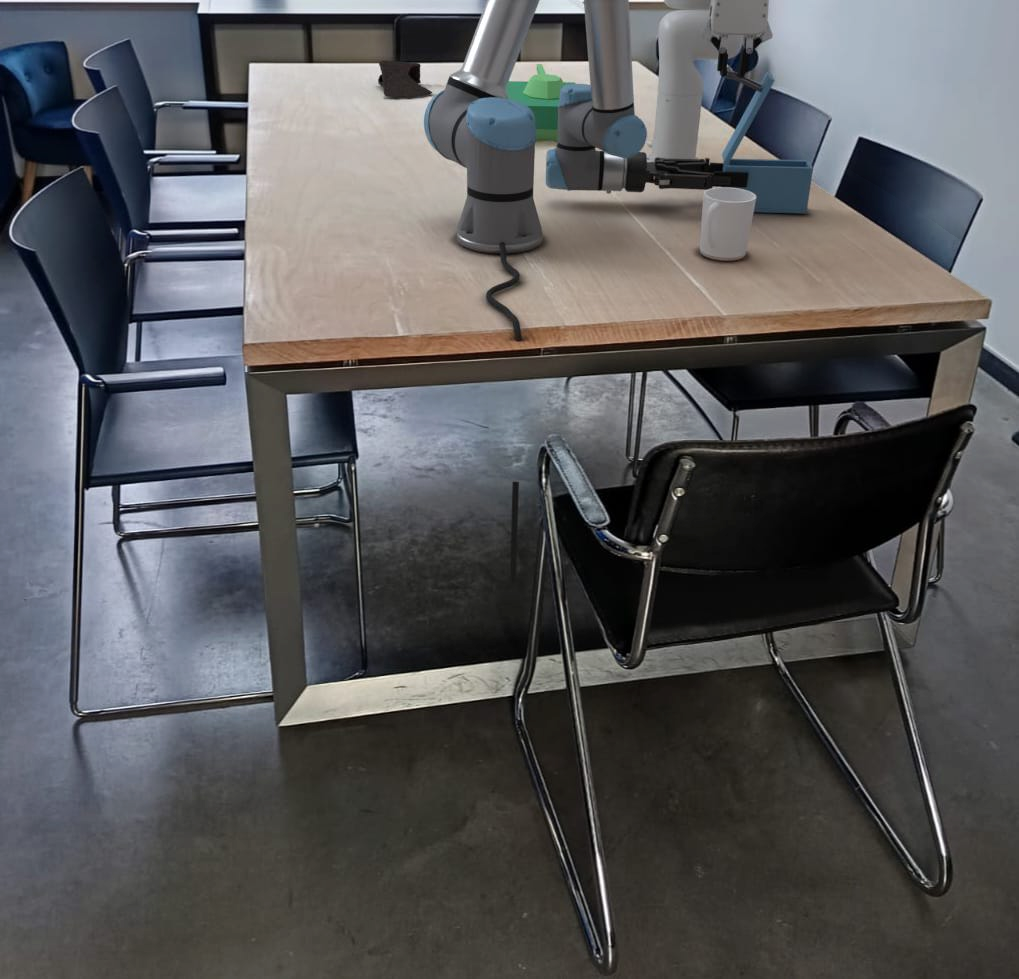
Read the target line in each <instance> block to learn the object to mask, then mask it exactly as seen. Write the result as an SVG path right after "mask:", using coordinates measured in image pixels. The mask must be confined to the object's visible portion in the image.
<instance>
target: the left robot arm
mask: <svg viewBox="0 0 1019 979" xmlns="http://www.w3.org/2000/svg"><path fill="white" fill-rule="evenodd" d="M540 1H541V0H486V2H485V4H484V7H483V9H482V13H481V15H480V18H479V21H478V22H477V26H476V28H475V31H474V34H473V37H472V39H471V42H470V45H469V47H468V50H467V53H466V56H465V58H464V61H463V63H462V66H461V68H460V69H459V70H457V71H455V72H453V73H451V74H449V77H448V79H447V82H446V85H445V88H444V89H443V90H441V91H439V92H438V93H436V94H435V95H434V96H433V97H432V98H431V99H430V100H429V102H428V104H427V106H426V108H425V111H424V116H423V129H424V134H425V136H426V139H427V141H428V142H429V144H430V145H431V147H432V148H433V149H434V150H435V151H436V152H437V153H438V154H440V155H441V156H442V157H443V158H445V159H446V160H449V161H452V162H454V163H456V164H457V165H459V166H462V167H463V168H465V169H466V192H467V193H466V198H465V202H464V205H463V209H462V211H461V214H460V218H459V220H458V224H457V228H456V241H457V243H458V244H459V245H461V246H462V247H464V248H466V249H468V250H470V251H475V252H479V253H486V254H497V255H500V262H501V265H502V267H503V269H504V270H506V271H507V272H508V273H510V274H511V275H512V276H513V277H512V278H510V279H509V280H506V281H505V282H501V283H499V284H496V285H494V286H492V287H490V288H489V289H488V290H487V291H486V293H485V298H486V301H487V303H489V305H491V306H493V307H494V308H495V309H497V310H499V311H500V312H501V313H503V314H504V315H505V316H506V318H507V319H508V320H510V322H511V323H512V328H513V333H514V341H515V342H517V343H520V342H522V341H523V338H522V337H523V336H522V330H521V324H520V321H519V319H518V317H517V315H515V314H514V313H513V312H512V311H511V310H510V308H508V307H507V306H506V305H504V304H503V303H501V302H500V301H498V300H496V299H495V298H494V297H493V295H494V294H496V293H498V292H501V291H503V290H506V289H508V288H511V287H513V286H515V285H516V284H517V283H518V282H519V281H520V280H521V279H520V277H521V274H520V272H519V271H518V270H517V269H516V268H515V267H513V266H512V265H511V264H510V263H509V262H508V260H507V255H508V254H517V253H524V252H527V251H530V250H533V249H536V248H538V247H539V246H540V245H541V244H542V243H543V229H542V224H541V221H540V220H541V219H540V218H539V214H538V213H539V212H538V210H537V206H536V204H535V199H534V184H535V181H534V180H535V158H536V156H535V154H536V141H535V139H536V127H535V116H534V114H533V112H532V110H531V109H530V108H529V107H528V106H526V105H525V104H523V103H521V102H518V101H515V100H510V99H509V97H508V94H507V91H506V87H507V84H508V82H509V81H510V80H511V79H510V78H511V77H512V73H513V70H514V68H515V66H516V63H517V60H518V58H519V55H520V53H521V50H522V47H523V44H524V43H525V39H526V37H527V34H528V32H529V29H530V26H531V24H532V21H533V19H534V16H535V14H536V11H537V8H538V5H539V4H540ZM583 7H584V8H583V9H584V22H585V33H586V45H587V46H586V47H587V48H586V49H587V58H588V59H587V60H588V72H589V83H590V84H588V83H576V84H569V85H566V86H564V87H562V88H561V90H560V97H559V106H558V141H556V145H555V147H556V148H550V149H548V150H547V151H546V154H545V155H546V156H545V157H546V159H545V180H544V181H545V185H546V186H547V188H548V189H551V190H563V191H568V192H570V191H596V192H597V191H598V192H606V194H608V195H610V194H612V192H622V191H623V189H624V191H625V192H626V193H643V192H644V191H645V188H646V184H647V183H648V184H654V186H658V189H660V190H669V189H680V190H701V191H702V190H703V191H706V190H707V189H711V188H718V187H744V188H747V181H748V174H749V173H748V172H723V162H710V157H705V158H699V159H666V158H659V157H657V158H655V162H647V156H648V155H647V153H646V152H644V151H642V150H643V148H644V146H645V144H646V141H647V137H648V130H647V126H646V124H645V123H644V121H643V120H642V119H641V118H640V117H639V116H638V115H636V112H635V97H634V96H635V94H634V77H633V76H634V75H633V59H632V57H633V56H632V38H631V36H632V35H631V19H630V18H631V17H630V1H629V0H583ZM596 149H599V150H596ZM511 485H512V486H511V487H512V488H511V520H510V524H511V525H510V526H511V528H510V533H511V534H510V565H509V566H510V567H509V581H510V583H516V582H517V562H518V561H517V560H518V559H517V558H518V557H517V556H518V525H519V524H518V523H519V522H518V521H519V496H520V494H519V492H520V481H512V484H511Z"/></svg>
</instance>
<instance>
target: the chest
mask: <svg viewBox="0 0 1019 979" xmlns="http://www.w3.org/2000/svg"><path fill="white" fill-rule="evenodd" d="M722 163H723V172H748V173H749V174H748V181H747V188H744V187H730V188H739V189H744V190H747V191H750V192H752V193H754V194H755V195H756V202H755V207H754V213H764V214H765V213H768V214H769V213H770V214H771V213H772V214H807V212H808V205H809V200H810V194H811V193H810V192H811V185H812V179H813V174H814V173H813V172H814V167H813V165H812V162H811V160H809V159H805V160H804V159H770V158H769V159H768V158H765V159H764V158H759V159H758V158H732V159H731V161H730V163H729V164H727V163H724V161H723V162H722Z"/></svg>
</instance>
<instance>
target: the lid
mask: <svg viewBox="0 0 1019 979" xmlns="http://www.w3.org/2000/svg"><path fill="white" fill-rule="evenodd" d="M725 78H726V79H727V80H734V81H736V82H738V83H740V84H743V85H744V86H747V87H748V88H751V89H753V90H755V93H754V95H753V96H752V97H751V99H750V102H749V104H748V105H747V106H746V108H745V110H744V112H743V115H742V116H741V118H740V120H739V122H738V123H737V125H736V127H735V129H734V131H733V133H732V134H731V137H730V138H729V140H728V142H727V144H726V145H725V148H724V150H723V151H722V153H721V156H722V161H723V162H724V163H727V164H729V163H730V161H731V159H733V157H734V155H735V153H736V151H737V150H738V148H739V146H740V144H741V143H742V141H743V139H744V137H745V135H746V134H747V132H748V130H749V128H750V127H751V125H752V122H753V121H754V119H755V117H756V115H757V114H758V111H760V109H761V106H762V104H763V103H764V101H765V99H766V97H767V96H768V94H769V92H770V90H771V89H772V86H773V85H774V83H775V77H774V76H773V74H772V73H770V72H768V71H766V73H765V74H764V76H763V78H762V80H761V82H760V83H759V82H757V81H755V80H753V79H750V77H749V78H748V77H747V76H745V77H741V76H740V75H739V74H738V72H737V71H734V70H733V68H732V67H731V66H727V72H726V76H725Z"/></svg>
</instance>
